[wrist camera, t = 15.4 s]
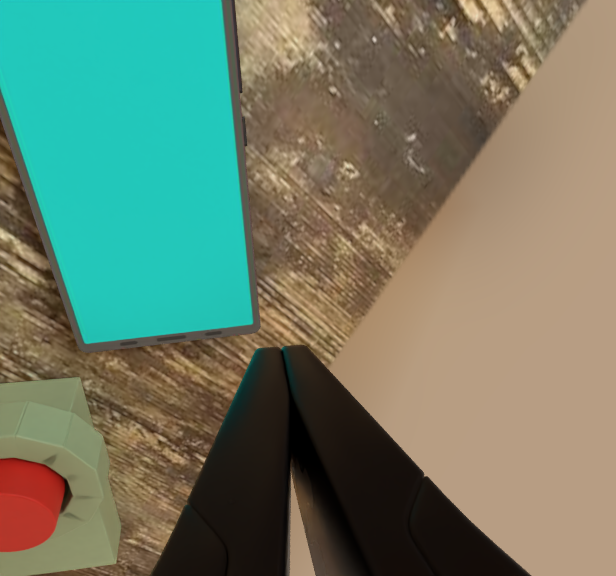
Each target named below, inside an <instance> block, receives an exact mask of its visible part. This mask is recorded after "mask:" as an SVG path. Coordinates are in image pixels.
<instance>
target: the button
mask: <svg viewBox="0 0 616 576" xmlns="http://www.w3.org/2000/svg"><path fill="white" fill-rule="evenodd" d="M64 493H65V482H64V479H63V477H62V476H61V475H60V474H58V473H57V472H55V471H54V470H52V469H51V468H50V467H48V466H47V465H45V464H41V463H36V462H32V461H27V460H23V459H18V458H6V459H0V552H17V551H23V550H27V549H30V548H33V547H36V546H38V545H40V544H42V543H44V542H45V541H46V540H48V539H49V538H50V537H51V535H52V534H53V533H54V531H55V528H56V525H57V521H58V517H59V513H60V509H61V505H62V501H63V497H64Z"/></svg>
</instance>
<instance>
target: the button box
mask: <svg viewBox="0 0 616 576" xmlns="http://www.w3.org/2000/svg"><path fill="white" fill-rule="evenodd" d="M6 458H18V459H23V460H27V461H32V462H36V463H41V464H45V465H47V466H48V467H50V468H51V469H52V470H54V471H55V472H57V473H58V474H60V475H61V476H62V477H63V479H64V482H65V493H64V497H63V501H62V505H61V509H60V513H59V517H58V521H57V525H56V528H55V531H54V533H53V534H52V535H51V537H50V538H49V539H48V540H46V541H45V542H44V543H42V544H40V545H38V546H36V547H33V548H30V549H27V550H23V551H17V552H0V576H30V575H37V574H45V573H52V572H60V571H67V570H74V569H82V568H89V567H97V566H104V565H112V564H116V561H117V554H118V546H119V539H120V532H121V523H120V519H119V516H118V512H117V508H116V505H115V501H114V498H113V494H112V490H111V487H110V483H109V480H108V473H109V468H110V460H109V456H108V453H107V449H106V445H105V441H104V438H103V436H102V434H100V433H99V432H98V431H96V430H95V429H94V426H93V422H92V419H91V415H90V411H89V408H88V404H87V401H86V397H85V393H84V390H83V386H82V383H81V379H80V377H73V378H61V379H49V380H37V381H25V382H13V383H2V384H0V459H6Z"/></svg>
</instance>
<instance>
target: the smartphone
mask: <svg viewBox="0 0 616 576" xmlns="http://www.w3.org/2000/svg"><path fill="white" fill-rule="evenodd" d="M240 93H242V81H241V70H240V58H239V46H238V35H237V23H236V12H235V0H0V119H1V122H2V125H3V128H4V131H5V134H6V137H7V140H8V142H9V145H10V148H11V151H12V154H13V157H14V160H15V163H16V166H17V169H18V172H19V175H20V178H21V181H22V184H23V187H24V190H25V193H26V195H27V198H28V201H29V204H30V207H31V210H32V213H33V216H34V219H35V222H36V225H37V228H38V231H39V234H40V237H41V240H42V243H43V246H44V248H45V251H46V254H47V257H48V260H49V263H50V266H51V269H52V272H53V275H54V278H55V281H56V284H57V287H58V290H59V293H60V296H61V299H62V301H63V304H64V307H65V310H66V313H67V316H68V319H69V322H70V325H71V328H72V331H73V334H74V337H75V340H76V343H77V346H78V348H79V349H80V350H81V351H83V352H86V353H92V352H100V351H109V350H117V349H126V348H134V347H143V346H151V345H160V344H168V343H176V342H185V341H193V340H202V339H210V338H219V337H227V336H236V335H244V334H252V333H255V332H257V331H258V330H259V329H260V315H259V303H258V292H257V281H256V270H255V259H254V247H253V236H252V225H251V214H250V203H249V192H248V180H247V169H246V158H245V147H244V146H247V139H246V127H245V118H244V117H242V113H241V102H240Z"/></svg>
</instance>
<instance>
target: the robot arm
mask: <svg viewBox="0 0 616 576" xmlns="http://www.w3.org/2000/svg"><path fill="white" fill-rule="evenodd" d="M291 473H292V478H293V483H294V488H295V492H296V496H297V500H298V505H299V509H300V513H301V517H302V521H303V525H304V529H305V533H306V538H307V541H308V546H309V550H310V554H311V558H312V562H313V566H314V570H315V575H316V576H531V575H530V574H529V573H528V572H527V571H526V570H524V569H523V568H522V567H521V566H520V565H519V564H517V563H516V562H515V561H514V560H513V559H512V558H511V557H510V556H508V555H507V554H506V553H505V552H504V551H503V550H502V549H500V548H499V547H498V546H497V545H496V544H495V543H494V542H493V541H492V540H490V539H489V538H488V537H487V536H486V535H485V534H484V533H483V532H482V531H481V530H480V529H478V527H476V526H475V525H474V524H473V523H472V522H471V521H470V520H469V519H468V518H467V517H466V516H465V515H464V514H463V513H462V512H461V511H460V510H459V509H458V508H457V507H456V506H455V505H454V504H453V503H452V502H451V501H450V500H449V499H448V498H447V497H446V496H445V495H444V494H443V493H442V491H441V490H440V489H439V488H438V487H437V486H436V485H435V484H434V483H433V482H432V481H431V480H430V478H429V477H427V476H426V477H424V472H423V471H422V470H421V469H420V468H419V467H418V466H417V465H416V464H415V463H414V461H412V459H411V458H410V457H409V456H408V455H407V454H406V453H405V452H404V451H403V450H402V449H401V447H400V446H399V445H398V444H397V443H396V442H395V441H394V440H393V439H392V438H391V437H390V436H389V434H388V433H387V432H386V431H385V430H384V429H383V428H382V427H381V426H380V425H379V424H378V423H377V422H376V420H375V419H374V418H373V417H372V416H371V415H370V414H369V413H368V412H367V411H366V410H365V409H364V407H363V406H362V405H361V404H360V403H359V402H358V401H357V400H356V399H355V398H354V397H353V396H352V395H351V394H350V392H349V391H348V390H347V389H346V388H345V387H344V386H343V385H342V384H341V383H340V382H339V381H338V379H336V377H335V376H334V375H333V374H332V373H331V372H330V371H329V370H328V369H327V368H326V367H325V365H324V364H323V363H322V362H321V361H320V360H319V359H318V358H317V357H316V356H315V355H314V354H313V352H312V351H311V350H310V349H309V348H308V347H307V346H305V345H291V346H284V347H283V348H282V349H280V348H279V347H267V348H258V349H257V350H256V351H255V353H254V355H253V357H252V359H251V361H250V364H249V366H248V368H247V370H246V372H245V375H244V377H243V379H242V381H241V383H240V386H239V388H238V390H237V392H236V394H235V397H234V399H233V401H232V403H231V405H230V408H229V410H228V412H227V414H226V416H225V419H224V421H223V423H222V425H221V427H220V430H219V432H218V434H217V436H216V438H215V441H214V443H213V445H212V447H211V449H210V452H209V454H208V456H207V458H206V460H205V463H204V465H203V467H202V469H201V471H200V474H199V476H198V478H197V480H196V482H195V485H194V487H193V489H192V491H191V493H190V496H189V498H188V500H187V505H185V506H184V508H183V510H182V512H181V515H180V517H179V519H178V521H177V523H176V526H175V528H174V530H173V532H172V534H171V536H170V538H169V540H168V542H167V544H166V546H165V548H164V550H163V552H162V554H161V556H160V558H159V560H158V562H157V564H156V565H155V567H154V569H153V571H152V572H151V574H150V576H289V573H290V572H289V570H290V508H291V506H290V505H291V504H290V503H291Z"/></svg>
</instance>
